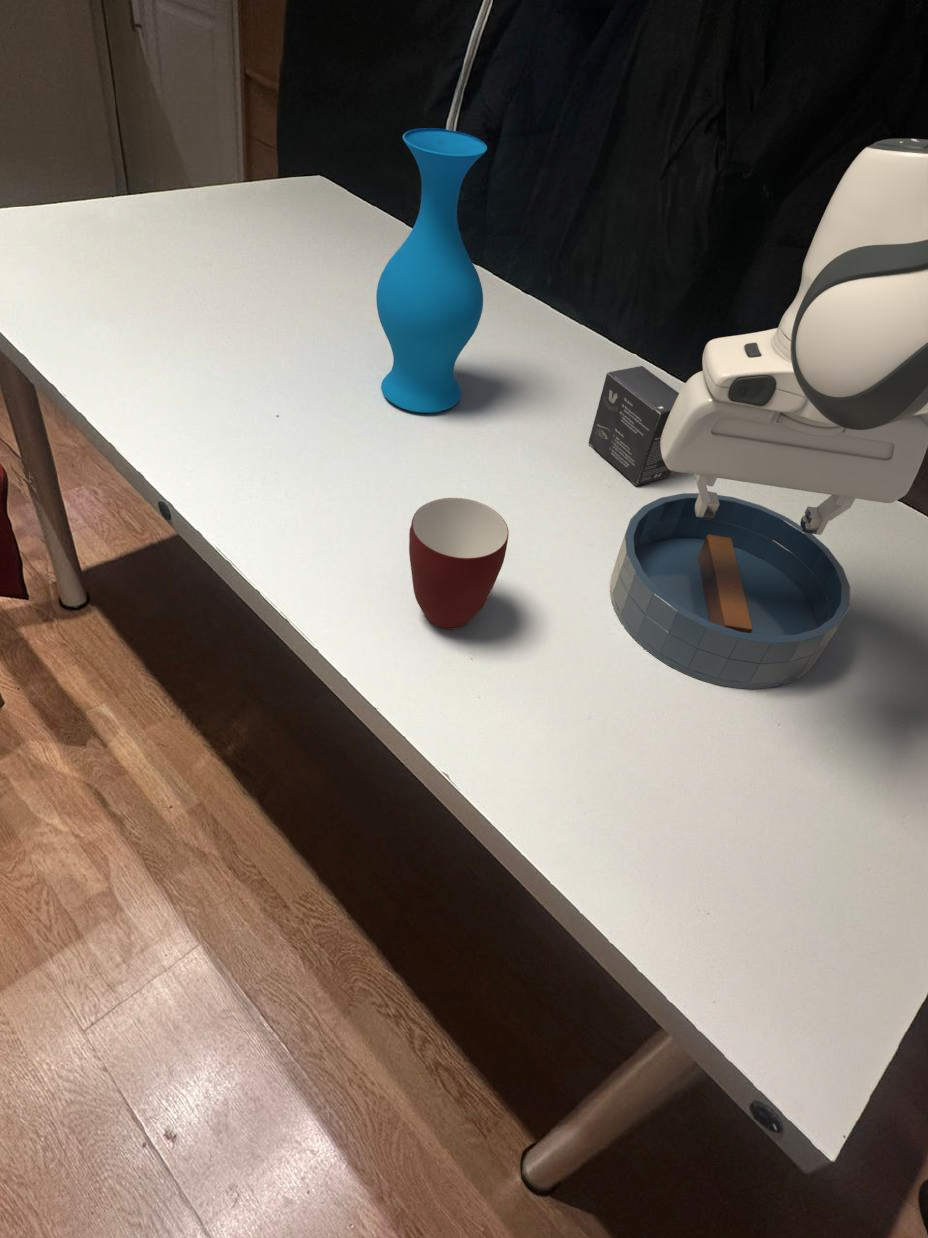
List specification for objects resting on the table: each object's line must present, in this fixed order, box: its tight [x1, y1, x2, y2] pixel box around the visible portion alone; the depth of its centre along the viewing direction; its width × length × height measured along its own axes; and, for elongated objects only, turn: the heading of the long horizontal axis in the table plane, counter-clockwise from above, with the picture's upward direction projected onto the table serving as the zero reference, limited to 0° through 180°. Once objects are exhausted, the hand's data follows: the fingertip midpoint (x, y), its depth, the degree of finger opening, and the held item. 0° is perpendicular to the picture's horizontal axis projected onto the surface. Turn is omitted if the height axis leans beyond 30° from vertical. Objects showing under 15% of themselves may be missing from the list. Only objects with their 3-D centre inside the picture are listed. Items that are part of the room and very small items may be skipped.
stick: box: [698, 534, 752, 633], centre depth 78 cm, size 13×2×3 cm, turn 175°
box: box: [587, 365, 680, 486], centre depth 93 cm, size 9×6×10 cm, turn 31°
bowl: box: [609, 492, 851, 690], centre depth 77 cm, size 21×21×6 cm
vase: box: [375, 127, 488, 414], centre depth 91 cm, size 12×13×28 cm
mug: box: [408, 497, 509, 630], centre depth 71 cm, size 11×8×10 cm
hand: (756, 521), depth 72 cm, fingers open, 8 cm apart
